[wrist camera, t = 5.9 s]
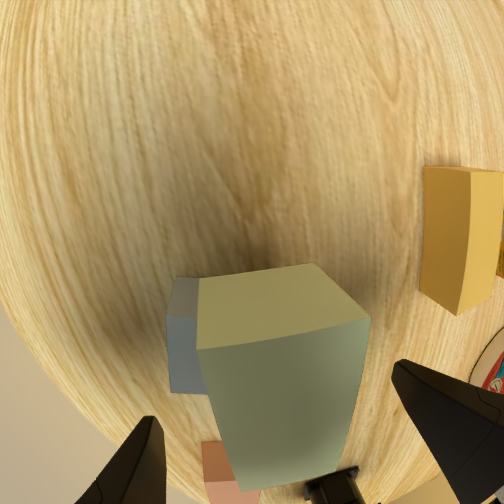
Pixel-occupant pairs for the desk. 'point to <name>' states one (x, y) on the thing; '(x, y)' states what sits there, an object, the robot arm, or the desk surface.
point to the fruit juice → (491, 366)
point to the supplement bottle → (501, 254)
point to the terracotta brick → (223, 477)
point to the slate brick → (184, 338)
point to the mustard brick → (461, 235)
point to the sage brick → (281, 370)
